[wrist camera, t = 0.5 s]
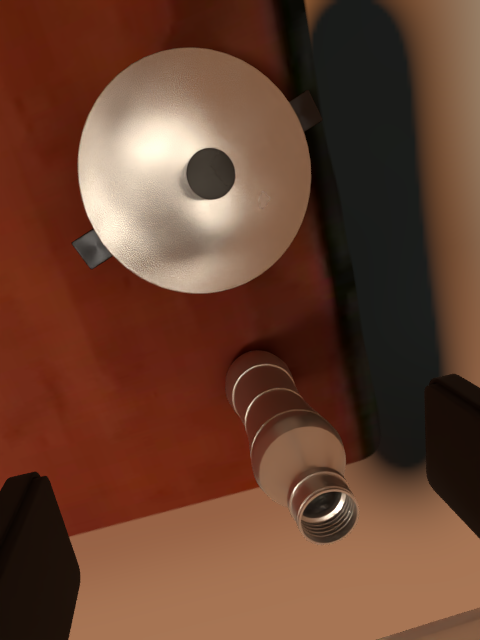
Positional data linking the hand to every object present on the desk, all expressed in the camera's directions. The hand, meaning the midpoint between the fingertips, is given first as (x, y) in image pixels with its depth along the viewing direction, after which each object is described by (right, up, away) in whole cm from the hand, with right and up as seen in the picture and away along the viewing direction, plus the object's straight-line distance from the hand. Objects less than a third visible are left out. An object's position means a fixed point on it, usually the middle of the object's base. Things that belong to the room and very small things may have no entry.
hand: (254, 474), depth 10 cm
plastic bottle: (+1, -2, +32) cm, 32 cm away
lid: (-3, +14, +21) cm, 25 cm away
